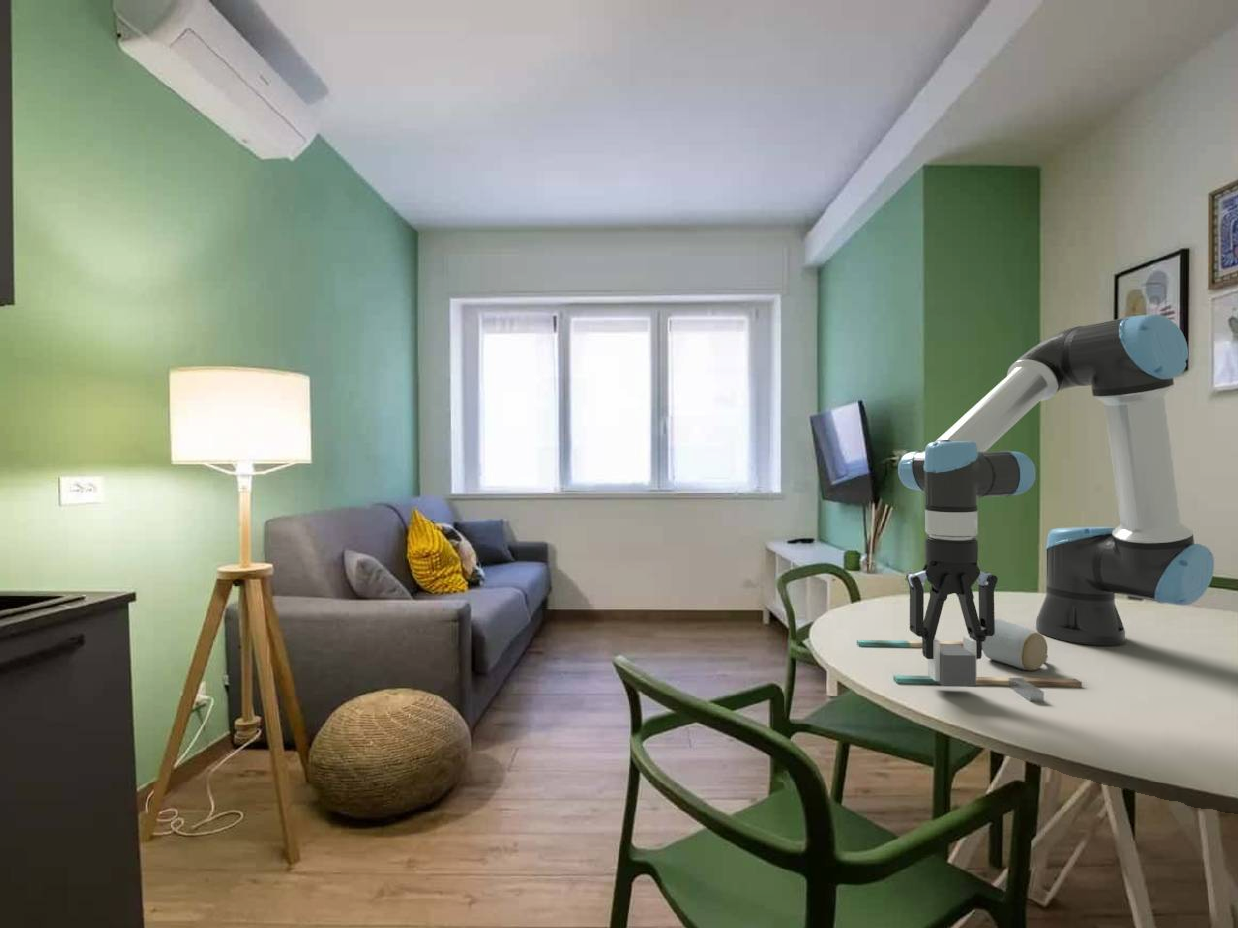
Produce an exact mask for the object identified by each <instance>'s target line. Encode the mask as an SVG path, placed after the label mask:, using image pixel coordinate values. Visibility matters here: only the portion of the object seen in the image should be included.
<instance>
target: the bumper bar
mask: <svg viewBox="0 0 1238 928" xmlns="http://www.w3.org/2000/svg"><path fill="white" fill-rule="evenodd" d="M1022 678H1023V677H1009V685H1008V687H1009V688H1010V689H1012V690H1013V691H1015V692H1016V693H1017V694H1019V695H1020V696H1022V697H1023V698H1024V699H1026V700H1028V701H1029V702H1035V703H1036V702H1040V703H1044V699H1045V698H1044V697H1045V696H1044V695H1045V694H1044V693H1045V692H1044V691H1043V690H1041V689H1040V688H1038V687H1037V686H1033V685H1032V684H1030V683H1028V682H1027V681H1025V680H1024V679H1022Z"/></svg>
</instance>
